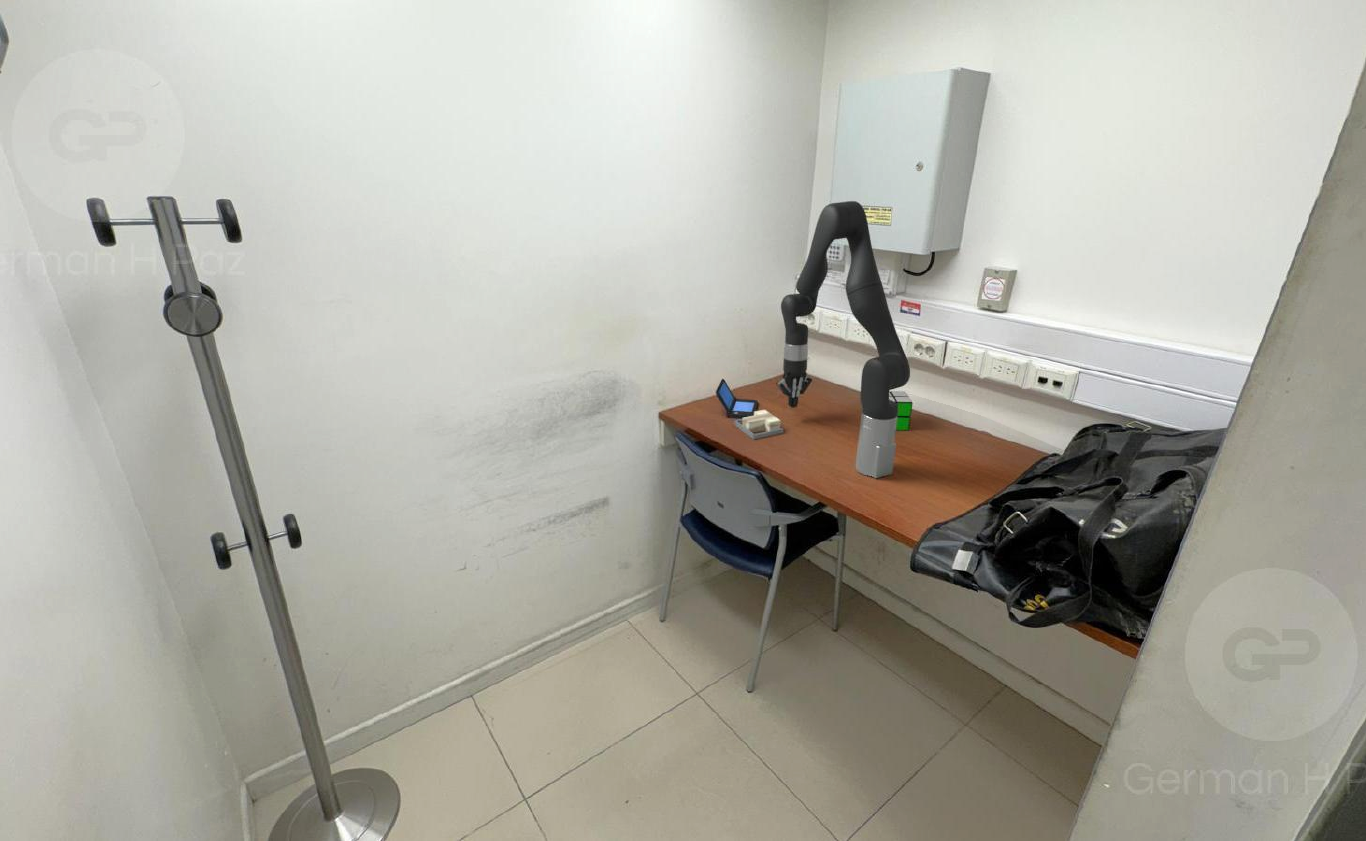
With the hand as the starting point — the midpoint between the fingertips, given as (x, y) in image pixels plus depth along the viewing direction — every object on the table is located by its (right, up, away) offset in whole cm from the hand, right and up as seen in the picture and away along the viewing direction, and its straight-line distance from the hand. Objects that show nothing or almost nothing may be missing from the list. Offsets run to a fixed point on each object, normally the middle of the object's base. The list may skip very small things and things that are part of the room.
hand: (793, 406), depth 193 cm
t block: (-12, -7, -2) cm, 14 cm away
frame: (-12, -7, -2) cm, 14 cm away
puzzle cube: (+32, -6, -1) cm, 32 cm away
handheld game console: (-17, -1, +13) cm, 22 cm away
